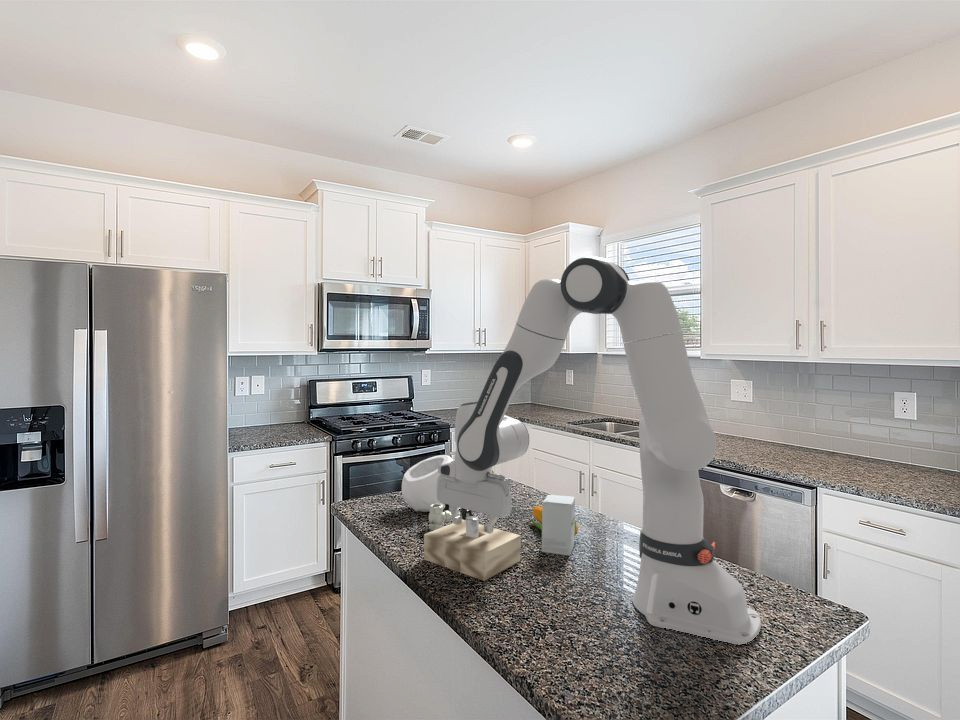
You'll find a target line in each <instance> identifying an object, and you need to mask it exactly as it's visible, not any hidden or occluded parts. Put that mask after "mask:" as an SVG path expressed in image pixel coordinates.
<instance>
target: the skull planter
mask: <svg viewBox="0 0 960 720" xmlns="http://www.w3.org/2000/svg"><path fill="white" fill-rule="evenodd" d="M452 461H455V459H454V458H452V457H451V456H450V455H447V454H441V455H440V454H439V455H434V456H432V457H428V458H426V459H423V460H421V461H419V462H417V463H416V464H414V465H412V466H411V467H409V468H408V469H407V470H406V472H405V473H404V474H403V477H402V482H401V495H402V497H403V500H404V501H405V502H406V503H407V505H408V506H409V508H411V509H413V510H414V511H415V512H416V513H418V512H423V513H427V512H429V513H430V505H432V504H441V505H443V510H444V509H445V508H446V504H444V503H440V502H439V501H438V499H437V479H438V477H439V475H440V474H439V473H438V466H440V465H443V464H446V463H450V462H452ZM457 509H458V511H460V510H461V508H457ZM459 509H460V510H459ZM417 511H418V512H417Z"/></svg>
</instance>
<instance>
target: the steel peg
mask: <svg viewBox="0 0 960 720" xmlns="http://www.w3.org/2000/svg"><path fill="white" fill-rule="evenodd" d="M479 524H480V523H479V517H477V516H468V517H467V518H466V538H470V539H473V540H475V539H477V538H479Z"/></svg>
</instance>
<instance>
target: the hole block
mask: <svg viewBox="0 0 960 720" xmlns="http://www.w3.org/2000/svg"><path fill="white" fill-rule="evenodd" d="M484 525H485V524H481V523H479V538H477V539H475V540H473V539H470V538H466V520H462V523H461V524H459V525H456V524H453V522H452V523H450V524H448V525H445V526H444V525H443V527H442V528H439V529H437V530H434V531H432V530H430V531H429V532H427V533H424V534H423V560H424V561H427V562H429V561H430V563H432V564H435V565H439V566H441V567H444V568H446V567H447V568H448V569H450V570H453V571H454V572H455V571H456V572H458V573H461V574H464V575H466V576H469V577H472V578H474V579H478V580H481V581H484V582H486V581H487V580H488V579H490V578H493V577H494V576H496V575H498V574H500V573H502V572H503V571H505V570H506V569H508V568H510V567H512V566H514V565H516V564H518V563H519V562H520V561H521V554H522V553H521V552H522V551H521V548H522V547H521V545H522V543H521V542H522V535H521V534H517V533H513V532H510V531H505V530H503V529H498V528H495V527H493V533H491V534H488V533H485V532H484Z"/></svg>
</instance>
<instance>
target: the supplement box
mask: <svg viewBox="0 0 960 720" xmlns="http://www.w3.org/2000/svg"><path fill="white" fill-rule="evenodd" d="M541 504H542V505H541V507H542V524H541V526H542V530H541V553H547V554H554V555H555V554H556V555H561V556H571V554H572V550H573V549H574V546H575V536H574V534H575V521H576V520H575V519H576V497H575V496H570V495H569V496H568V495H557V494H547V495H546V496H545V497H544V499H543V501H542V503H541Z"/></svg>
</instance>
